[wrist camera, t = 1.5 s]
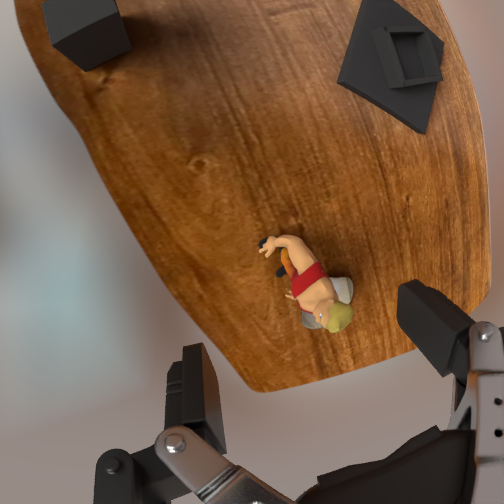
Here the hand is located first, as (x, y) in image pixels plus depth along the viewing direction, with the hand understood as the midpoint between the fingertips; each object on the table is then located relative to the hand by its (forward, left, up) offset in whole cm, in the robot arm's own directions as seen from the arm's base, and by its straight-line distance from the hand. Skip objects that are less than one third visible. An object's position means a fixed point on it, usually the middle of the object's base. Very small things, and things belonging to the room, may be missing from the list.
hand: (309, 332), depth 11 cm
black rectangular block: (-17, +13, -22) cm, 31 cm away
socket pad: (+15, +25, -22) cm, 37 cm away
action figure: (+8, -4, -22) cm, 24 cm away
